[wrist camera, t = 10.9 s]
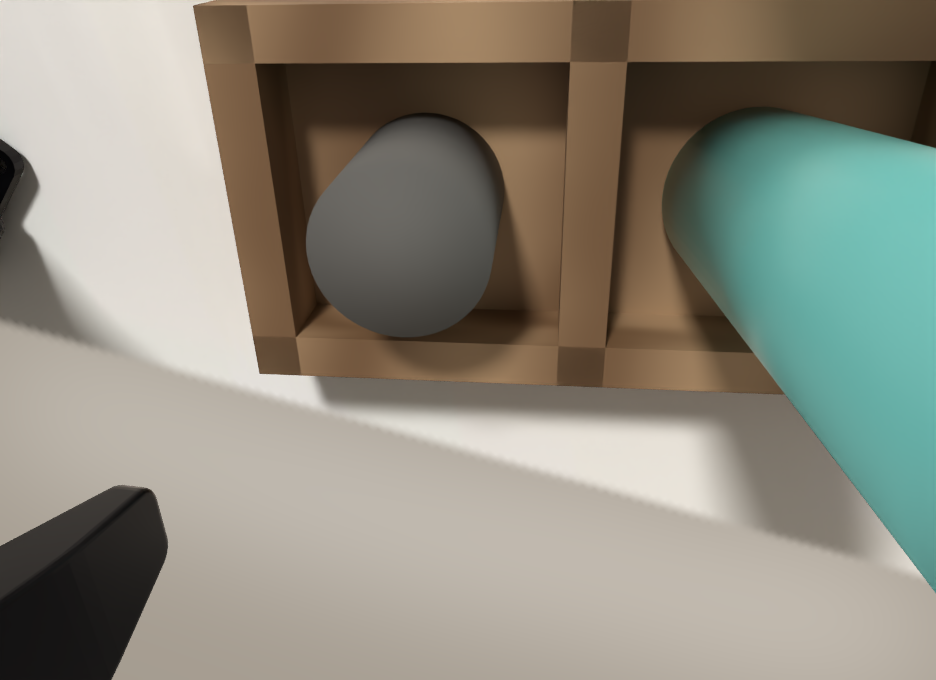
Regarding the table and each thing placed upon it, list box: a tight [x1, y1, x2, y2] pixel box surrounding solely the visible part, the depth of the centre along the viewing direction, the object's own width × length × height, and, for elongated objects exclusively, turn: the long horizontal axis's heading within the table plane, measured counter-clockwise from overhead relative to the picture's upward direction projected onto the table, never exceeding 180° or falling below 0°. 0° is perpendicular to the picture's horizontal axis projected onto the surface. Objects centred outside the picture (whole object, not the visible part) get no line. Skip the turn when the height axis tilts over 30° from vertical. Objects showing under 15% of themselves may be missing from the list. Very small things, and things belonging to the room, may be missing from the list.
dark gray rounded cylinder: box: [306, 112, 504, 337], centre depth 18 cm, size 4×4×4 cm
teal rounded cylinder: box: [662, 107, 936, 593], centre depth 13 cm, size 4×4×14 cm
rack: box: [193, 0, 936, 395], centre depth 19 cm, size 18×9×3 cm, turn 91°
